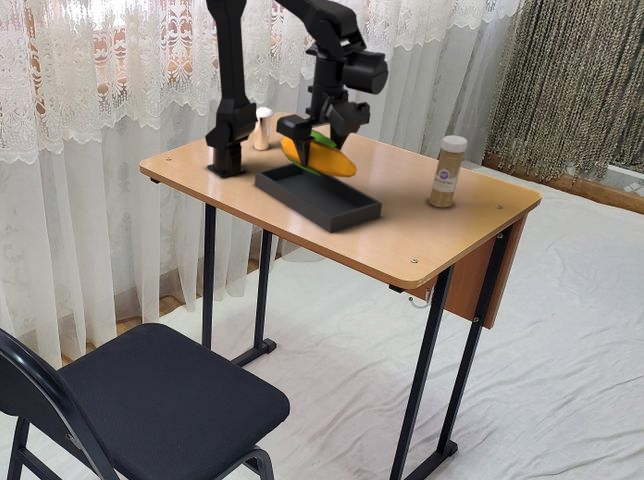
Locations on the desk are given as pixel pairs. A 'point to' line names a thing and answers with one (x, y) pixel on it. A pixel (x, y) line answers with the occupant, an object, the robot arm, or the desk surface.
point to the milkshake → (263, 128)
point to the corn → (321, 157)
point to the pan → (318, 196)
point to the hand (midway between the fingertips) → (318, 163)
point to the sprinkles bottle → (447, 170)
